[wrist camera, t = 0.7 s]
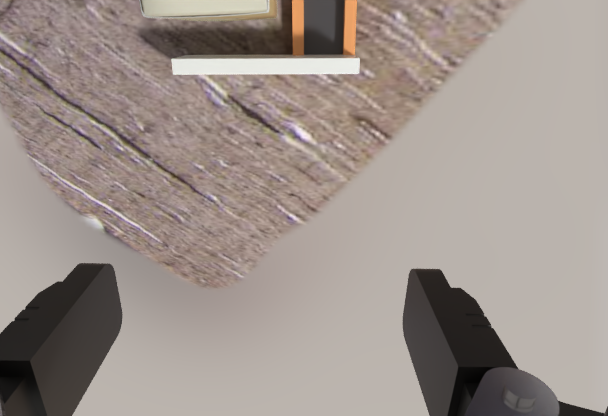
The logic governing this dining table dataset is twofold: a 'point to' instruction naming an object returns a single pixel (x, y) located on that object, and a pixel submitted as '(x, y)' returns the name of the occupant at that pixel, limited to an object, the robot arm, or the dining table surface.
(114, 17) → the dining table surface
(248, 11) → the skincare box
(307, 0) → the twin rod panel frame
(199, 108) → the dining table surface
